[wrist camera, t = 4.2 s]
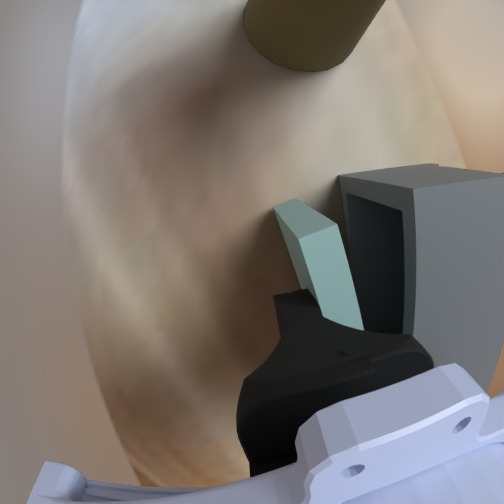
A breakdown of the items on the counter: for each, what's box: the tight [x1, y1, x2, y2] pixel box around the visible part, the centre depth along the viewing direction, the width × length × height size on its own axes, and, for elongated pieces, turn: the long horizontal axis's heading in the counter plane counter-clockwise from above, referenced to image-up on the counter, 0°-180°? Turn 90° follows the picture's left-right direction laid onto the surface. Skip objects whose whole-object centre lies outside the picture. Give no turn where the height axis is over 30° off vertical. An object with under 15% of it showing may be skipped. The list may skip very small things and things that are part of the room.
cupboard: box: [338, 164, 504, 394], centre depth 13 cm, size 13×6×7 cm, turn 11°
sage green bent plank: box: [273, 198, 364, 330], centre depth 13 cm, size 12×1×6 cm, turn 20°
